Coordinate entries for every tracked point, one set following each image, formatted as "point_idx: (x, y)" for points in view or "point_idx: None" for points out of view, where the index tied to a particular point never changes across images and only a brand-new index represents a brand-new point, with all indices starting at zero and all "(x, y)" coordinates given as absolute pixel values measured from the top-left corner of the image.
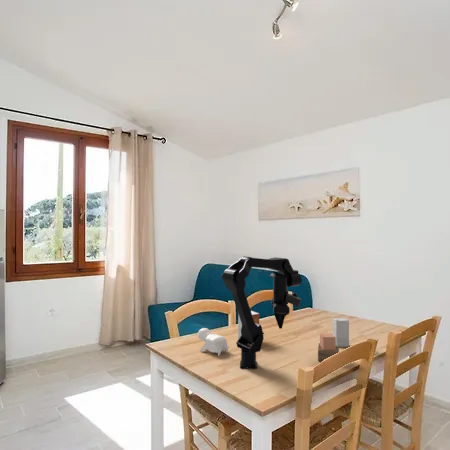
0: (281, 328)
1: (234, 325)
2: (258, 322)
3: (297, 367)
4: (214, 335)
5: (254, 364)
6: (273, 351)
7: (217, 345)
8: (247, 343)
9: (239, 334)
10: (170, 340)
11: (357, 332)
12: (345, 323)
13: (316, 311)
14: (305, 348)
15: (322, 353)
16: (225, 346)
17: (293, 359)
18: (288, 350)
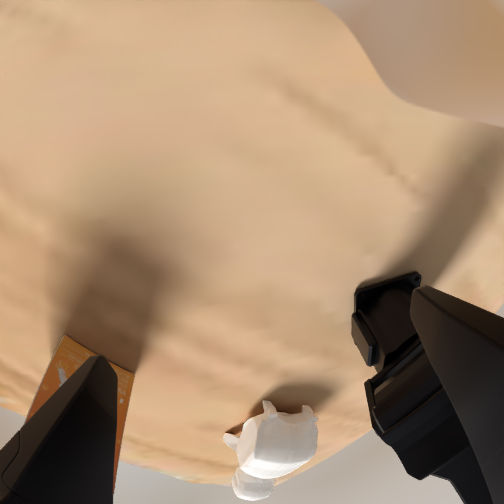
0: (422, 288)
1: (6, 406)
2: (36, 410)
3: (377, 82)
4: (272, 472)
5: (408, 289)
6: (168, 243)
7: (310, 438)
8: (371, 384)
9: None
10: (223, 483)
11: None
12: None
13: None
14: (45, 71)
15: None
16: (280, 422)
17: (264, 102)
18: (112, 158)
